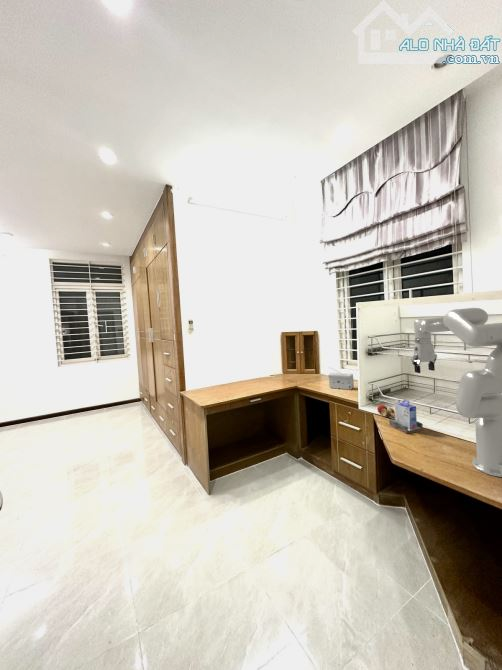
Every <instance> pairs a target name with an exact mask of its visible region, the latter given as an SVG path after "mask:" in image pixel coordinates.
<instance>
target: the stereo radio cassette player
mask: <svg viewBox="0 0 502 670" xmlns="http://www.w3.org/2000/svg"><path fill="white" fill-rule="evenodd" d="M328 368H330V369H332V370H333V371H335V372H330V373H328V374H327V376H328V386H329V387H328V388H330V389H337V388H340V389H339V390H348V389H351V390H353V389H354V387H355V385H354V384H355V383H354V382H355V381H354V374H352V373H342V372H340V371H338V370H336V369H335V368H332V367H330V366H329V367H328Z"/></svg>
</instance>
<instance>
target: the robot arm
mask: <svg viewBox="0 0 502 670" xmlns="http://www.w3.org/2000/svg"><path fill="white" fill-rule="evenodd" d="M488 320H489V313H487V311H485V310H484V309H482V308H481V307H468V308H466V307H465V308H459V309H458V308H455V309H452V310H449V311H448V312H447V313H446V314H445V315H444V316H442V317H431V318H416V319H415V320H414V321H413V329H414V330H413V331H414V345H413V356H412V357H410V362H411V364H412V365H413V366H414V367H413V368H414V373H417V374H421V366H420V365H421V363H427V365H428V371H435V370H436V369H435V367H436V366H435V364H436V361H437V358H438V354H436V352H435V347H434V343H433V342H432V334H433V333H443V332H444V333H445V332H452V333H453V334H454V335H455V336H456V337H457V338H458V339H459V340H461V341H462V343H463V344H465V345H467V346H469V347H472V348H473V347H474V348H481V347H482V348H483V347H492V346H496V347H495V348H494V349H493V350H492V351H491V352H490V354H489V355H488V356H487V358H486V362H485V366H484V367H483V368H481V369H477V370H470V371H467V372H465V373H464V374H463V375H462V376H461V378H460V381H459V385H458V388H457V393H456V394H457V395H456V399H455V407H456V410H457V412H458V413H459V415H460V416H462V417H463V418H465V419H476V422H475V442H476V444H475V445H476V447H475V449H476V457H475V458H473V459H472V461H471V463H472V466H473V467H474V468H475V469H476V470H478V471H480V472H481V473H484V474H486V475H489V476H493V477H498V478H502V322H496V323H495V322H494V323H487V322H488Z"/></svg>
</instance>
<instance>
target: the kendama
mask: <svg viewBox="0 0 502 670" xmlns="http://www.w3.org/2000/svg"><path fill="white" fill-rule="evenodd" d="M377 412H378V413H379V414H380V415H382V416H384V417H386V416H388V415H389V414H390V415H389V416H391V417H393V418H394V419H395V408H393V407H387V406H386V405H384V404H380V405H378V406H377Z"/></svg>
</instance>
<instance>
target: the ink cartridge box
mask: <svg viewBox="0 0 502 670" xmlns="http://www.w3.org/2000/svg"><path fill="white" fill-rule="evenodd" d="M410 402H411V401H410V400H407V399H403V401H401V402H395V403H394V411H395V418H394V419H395V420H394V421H396V422H398V423H400V424H402V425H404V426H407V427H408V429H413V428H417V422H418V421H417V420H418V419H417V406H416V405H413V404H410Z"/></svg>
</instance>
